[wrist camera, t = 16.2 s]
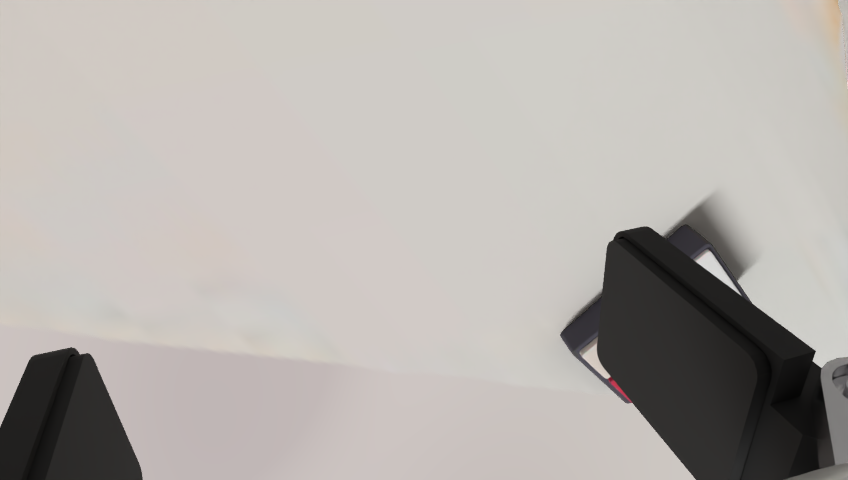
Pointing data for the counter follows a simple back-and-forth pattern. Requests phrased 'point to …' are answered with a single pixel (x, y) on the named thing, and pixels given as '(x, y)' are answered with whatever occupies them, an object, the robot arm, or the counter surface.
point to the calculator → (586, 326)
